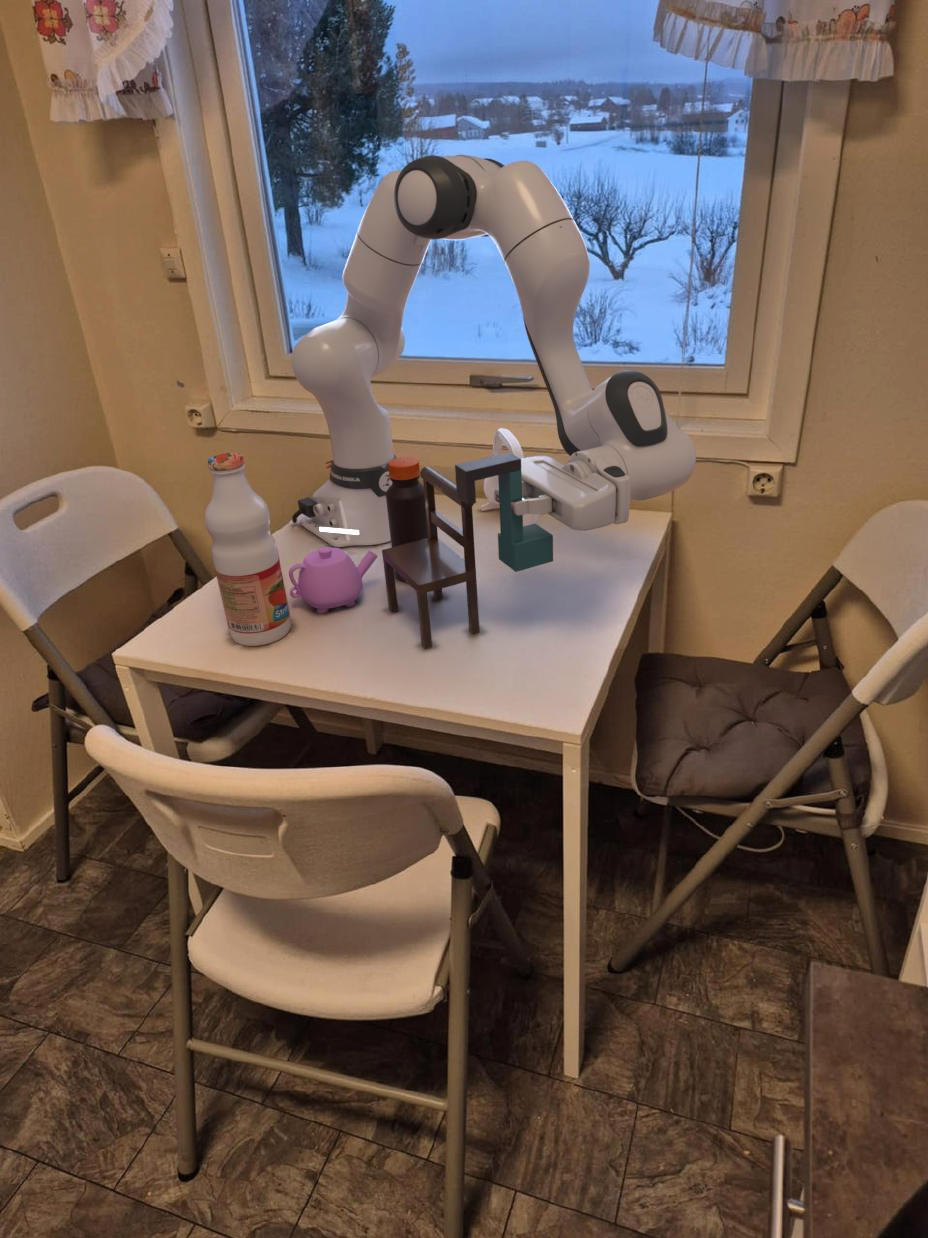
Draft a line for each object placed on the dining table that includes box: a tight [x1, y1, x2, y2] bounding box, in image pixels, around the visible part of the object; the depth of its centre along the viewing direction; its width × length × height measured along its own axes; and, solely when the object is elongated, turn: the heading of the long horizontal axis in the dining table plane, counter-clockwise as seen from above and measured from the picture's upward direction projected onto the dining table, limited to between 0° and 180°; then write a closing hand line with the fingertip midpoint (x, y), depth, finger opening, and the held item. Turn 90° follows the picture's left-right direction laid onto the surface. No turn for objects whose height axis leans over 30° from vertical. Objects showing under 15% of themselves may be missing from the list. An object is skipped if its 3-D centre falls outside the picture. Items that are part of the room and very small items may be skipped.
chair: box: [381, 466, 481, 650], centre depth 126 cm, size 9×14×22 cm
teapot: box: [288, 546, 378, 614], centre depth 137 cm, size 10×15×9 cm
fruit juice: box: [204, 451, 292, 647], centre depth 125 cm, size 9×9×28 cm
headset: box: [480, 427, 541, 527], centre depth 157 cm, size 20×7×18 cm, turn 12°
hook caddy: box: [454, 452, 554, 573], centre depth 114 cm, size 12×5×16 cm, turn 117°
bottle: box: [386, 456, 428, 583], centre depth 141 cm, size 7×7×20 cm
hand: (504, 502), depth 113 cm, fingers closed on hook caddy, 3 cm apart
